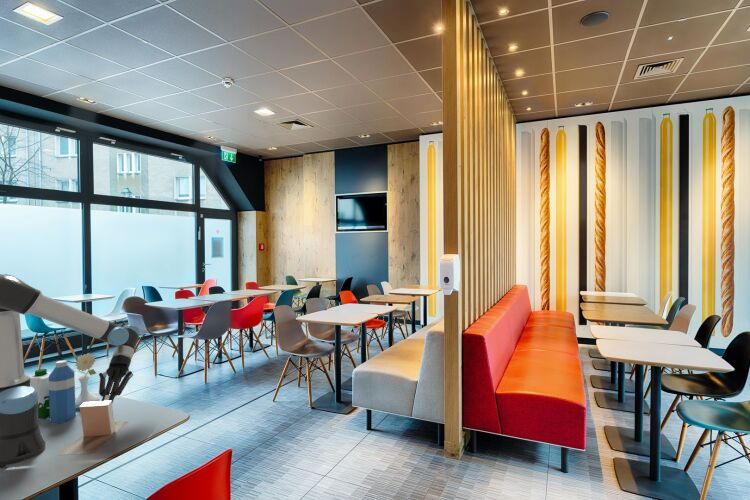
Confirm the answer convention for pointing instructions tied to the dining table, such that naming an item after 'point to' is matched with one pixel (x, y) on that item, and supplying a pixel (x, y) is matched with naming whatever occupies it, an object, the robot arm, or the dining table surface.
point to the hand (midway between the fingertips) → (103, 412)
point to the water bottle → (62, 393)
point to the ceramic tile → (97, 418)
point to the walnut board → (90, 442)
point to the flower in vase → (85, 380)
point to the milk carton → (42, 391)
